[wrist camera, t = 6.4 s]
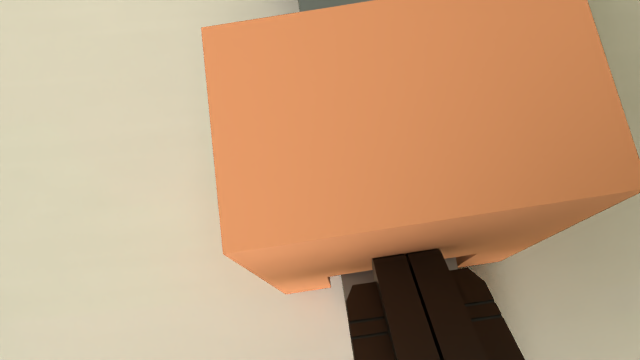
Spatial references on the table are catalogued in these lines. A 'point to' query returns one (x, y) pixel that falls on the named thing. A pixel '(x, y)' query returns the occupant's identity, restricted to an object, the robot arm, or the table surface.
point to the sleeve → (410, 133)
